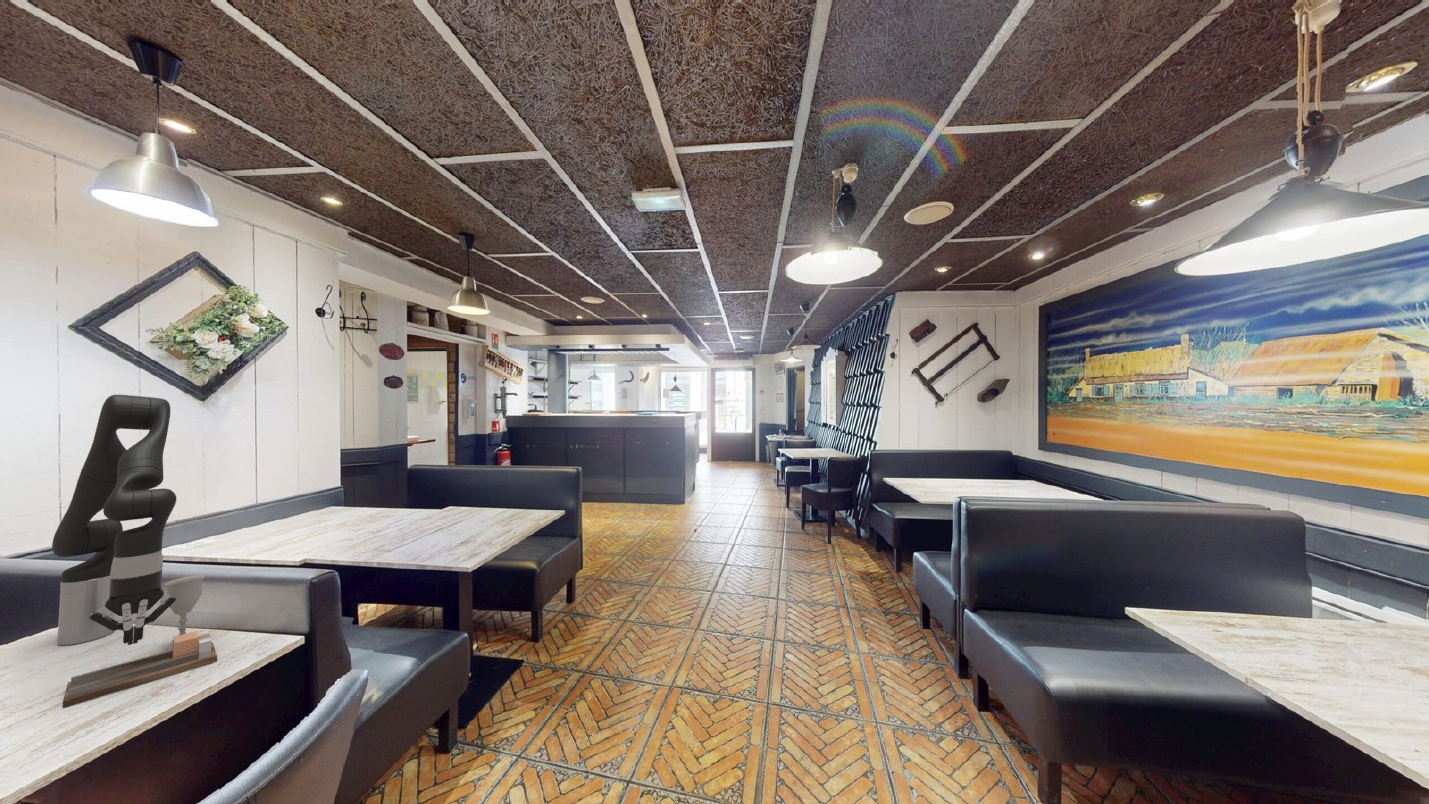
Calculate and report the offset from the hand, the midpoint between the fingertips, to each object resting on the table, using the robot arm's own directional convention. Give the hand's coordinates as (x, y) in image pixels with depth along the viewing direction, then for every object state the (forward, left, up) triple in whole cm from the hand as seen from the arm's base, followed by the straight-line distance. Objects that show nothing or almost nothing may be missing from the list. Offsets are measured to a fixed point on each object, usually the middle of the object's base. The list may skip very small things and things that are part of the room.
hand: (132, 643), depth 103 cm
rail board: (0, +2, -9) cm, 9 cm away
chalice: (-14, +8, -9) cm, 18 cm away
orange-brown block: (0, +8, -7) cm, 11 cm away
